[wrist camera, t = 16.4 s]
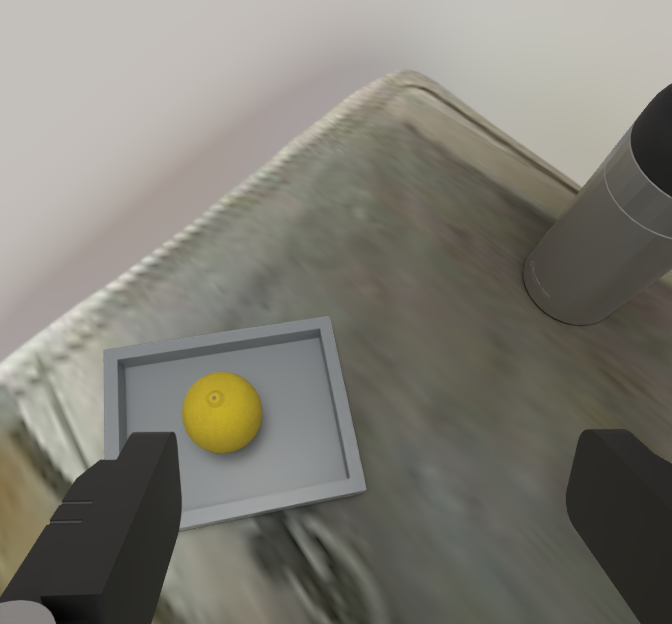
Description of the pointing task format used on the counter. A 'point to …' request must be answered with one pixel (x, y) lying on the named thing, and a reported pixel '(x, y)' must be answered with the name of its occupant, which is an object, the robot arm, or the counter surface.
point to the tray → (276, 425)
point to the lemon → (222, 412)
